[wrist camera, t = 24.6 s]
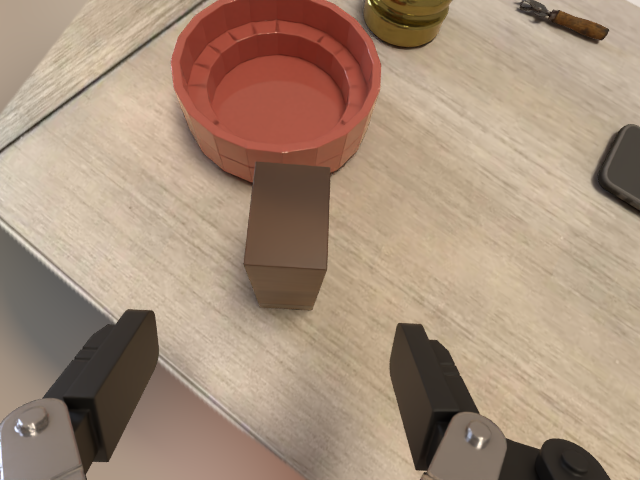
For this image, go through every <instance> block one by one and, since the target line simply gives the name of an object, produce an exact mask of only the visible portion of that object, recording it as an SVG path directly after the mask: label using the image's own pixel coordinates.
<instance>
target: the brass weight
mask: <svg viewBox="0 0 640 480" xmlns="http://www.w3.org/2000/svg"><path fill="white" fill-rule="evenodd" d="M451 2H452V0H365V4H364V10H363V15H364V19H365V22H366V24H367V26H368V27H369V29H370V30H371V31H372V32H373V33H374V34H375V35H376V36H377V37H379V38H380V39H382V40H383V41H385V42H387V43H390V44H393V45H396V46H401V47H415V46H420V45H423V44H426V43H428V42H429V41H431V40H432V39H433V38H434V37H435V36H436V35H437V34H438V32H439V30H440V27H441V25H442V23H443V20H444V19H445V17H446V16H447V14H448V10H449V4H450V3H451Z"/></svg>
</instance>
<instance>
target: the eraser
mask: <svg viewBox="0 0 640 480" xmlns="http://www.w3.org/2000/svg"><path fill="white" fill-rule="evenodd" d="M330 170H331V168H330V167H322V166H309V165H296V164H283V163H270V162H258V161H256V162H255V169H254V177H253V186H252V195H251V204H250V212H249V221H248V230H247V239H246V248H245V256H244V266H245V269H246V272H247V274H248V277H249V280H250V282H251V285H252V288H253V290H254V293H255V295H256V298H257V301H258V303H259V306H260V307H263V308H282V309H300V310H312V309H313V306H314V304H315V301H316V298H317V295H318V293H319V290H320V287H321V285H322V282H323V279H324V276H325V274H326V271H327V259H328V229H329V200H330Z"/></svg>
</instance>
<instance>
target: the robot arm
mask: <svg viewBox="0 0 640 480" xmlns="http://www.w3.org/2000/svg"><path fill="white" fill-rule="evenodd" d="M158 356H159V345H158V336H157V328H156V319H155V314H154V312H153V311H152V310H133V309H128V310H126V311H125V312H124V314H123V315H122V316H121V318H120V319H119V321H118V322H117V323H116V325H110V324H108V325H106V326H105V327H103V328H102V329H101V330H99V331H97V332H96V333H94V334H93V335H92V336H91V337H90V339H89V340H88V341H87V342H86V344H85V345H84V346H83V349H82V350H80V351H79V353H78V354H77V355H76V356H75V359H74V360H72V361H71V363H70V364H69V365H68V366H67V368H66V369H65V370H64V372H63V373H62V374H61V375H60V377H59V378H58V379H57V380H56V382H55V383H54V384H53V385H52V387H51V388H50V389H49V390H48V392H47V393H46V394H45V395H44V397H43V398H42V399H38V400H35V401H31V402H29V403H26V404H24V405H22V406H21V407H18V408H17V409H15V410H14V411H12V412H11V413H10V414H9V415H8V416H6V417H5V418H4V419H3V421H2V422H1V423H0V480H87V478H86V473H87V471H88V469H89V468H90V466H91V464H92V462H109V460H110V458H111V456H112V454H113V452H114V450H115V448H116V446H117V444H118V442H119V440H120V438H121V436H122V434H123V432H124V430H125V428H126V425H127V424H128V422H129V420H130V418H131V416H132V414H133V412H134V409H135V408H136V406H137V404H138V402H139V400H140V398H141V395H142V393H143V391H144V390H145V387H146V385H147V384H148V381H149V380H150V378H151V375H152V373H153V372H154V370H155V367H156V364H157V361H158ZM390 377H391V381H392V384H393V388H394V392H395V395H396V399H397V403H398V406H399V410H400V414H401V418H402V421H403V425H404V429H405V432H406V436H407V440H408V443H409V447H410V451H411V454H412V458H413V462H414V466H415V469H416V470H423V471H427V472H426V473H425V472H424V473H423V475H422V477H421V479H420V480H611V479H610V478H609V476H608V475H607V473H606V472H605V470H604V469H603V468H602V466H601V465H600V463H599V462H598V461H597V460H596V459H595V458H594V457H593V456H592V455H591V454H590V453H589V452H587V451H586V450H585V449H583V448H582V447H580V446H578V445H576V444H574V443H572V442H570V441H567V440H563V439H549V440H547V441H545V442H544V444H543V445H542V447H541V449H537V448H534V447H531V446H527V445H524V444H521V443H518V442H514V441H512V440H509V439H507V438H505V436H504V434H503V433H502V431H501V430H500V429H499V427H498V426H497V425H496V424H495V423H493V422H492V421H491V420H489V419H488V418H486V417H484V416H482V415H480V413H479V411H478V409H477V407H476V405H475V403H474V401H473V399H472V397H471V395H470V393H469V391H468V389H467V387H466V385H465V383H464V381H463V379H462V377H461V376H460V373H459V371H458V369H457V367H456V366H455V363H454V361H453V359H452V357H451V355H450V353H449V351H448V350H447V349H446V348H445V347H444V346H443V345H442V344H441V343H439V342H438V341H437V340H429V339H428V337H427V334H426V332H425V330H424V328H423V326H422V325H421V324H409V323H398V325H397V328H396V332H395V337H394V342H393V347H392V352H391V357H390Z"/></svg>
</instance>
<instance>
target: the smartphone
mask: <svg viewBox="0 0 640 480" xmlns="http://www.w3.org/2000/svg"><path fill="white" fill-rule="evenodd" d="M598 180H599V183H600V185H601V186H602V187H603V188H604V189H606V190H607V191H609V192H611V193H612V194H614V195H616V196H617V197H619V198H620V199H622V200H624V201H625V202H627V203H629V204H630V205H632V206H633V207H635V208H637V209H638V210H640V127H639V126H637V125H634V124H629V125H626V126H624V127H623V128H621V129H620V131H619V132H618V134H617V136H616V138H615V140H614V142H613V145H612V147H611V149H610V151H609V153H608V155H607V157H606V159H605V161H604V163H603V165H602V167H601V170H600V172H599V175H598Z"/></svg>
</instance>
